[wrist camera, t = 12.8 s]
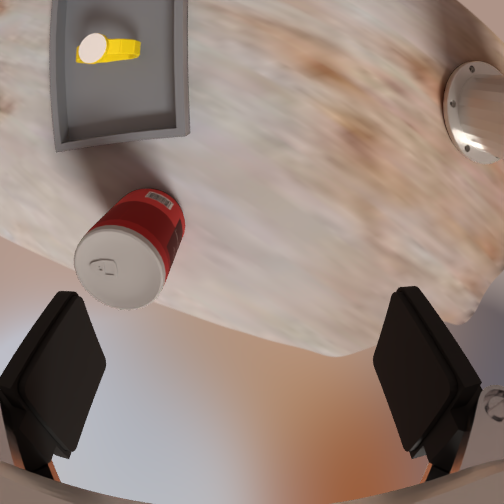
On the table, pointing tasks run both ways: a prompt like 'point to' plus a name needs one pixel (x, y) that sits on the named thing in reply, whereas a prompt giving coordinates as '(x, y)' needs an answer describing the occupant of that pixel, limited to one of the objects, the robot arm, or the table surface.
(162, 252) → the canned food
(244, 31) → the table surface
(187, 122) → the tray
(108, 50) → the watch
